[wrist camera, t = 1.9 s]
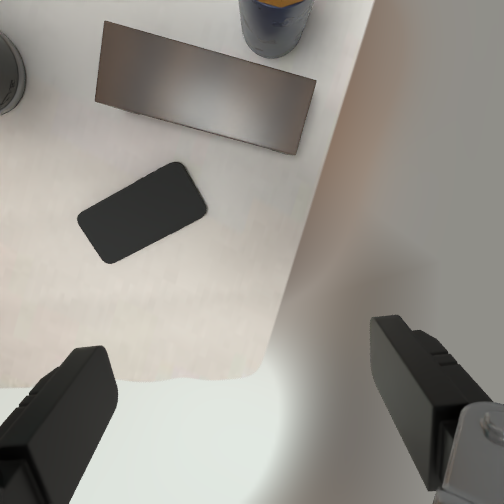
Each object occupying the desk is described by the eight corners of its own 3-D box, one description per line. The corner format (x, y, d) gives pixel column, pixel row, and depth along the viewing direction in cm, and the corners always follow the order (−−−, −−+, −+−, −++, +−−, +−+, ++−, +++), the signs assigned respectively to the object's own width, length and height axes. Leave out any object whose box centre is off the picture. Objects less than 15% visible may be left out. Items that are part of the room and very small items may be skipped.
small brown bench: (121, 109, 40) (94, 101, 33) (130, 43, 38) (104, 20, 31) (289, 154, 41) (295, 155, 35) (306, 92, 39) (316, 80, 33)
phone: (72, 216, 43) (178, 157, 40) (76, 214, 44) (179, 157, 41) (106, 267, 44) (209, 214, 42) (109, 265, 45) (210, 213, 43)
